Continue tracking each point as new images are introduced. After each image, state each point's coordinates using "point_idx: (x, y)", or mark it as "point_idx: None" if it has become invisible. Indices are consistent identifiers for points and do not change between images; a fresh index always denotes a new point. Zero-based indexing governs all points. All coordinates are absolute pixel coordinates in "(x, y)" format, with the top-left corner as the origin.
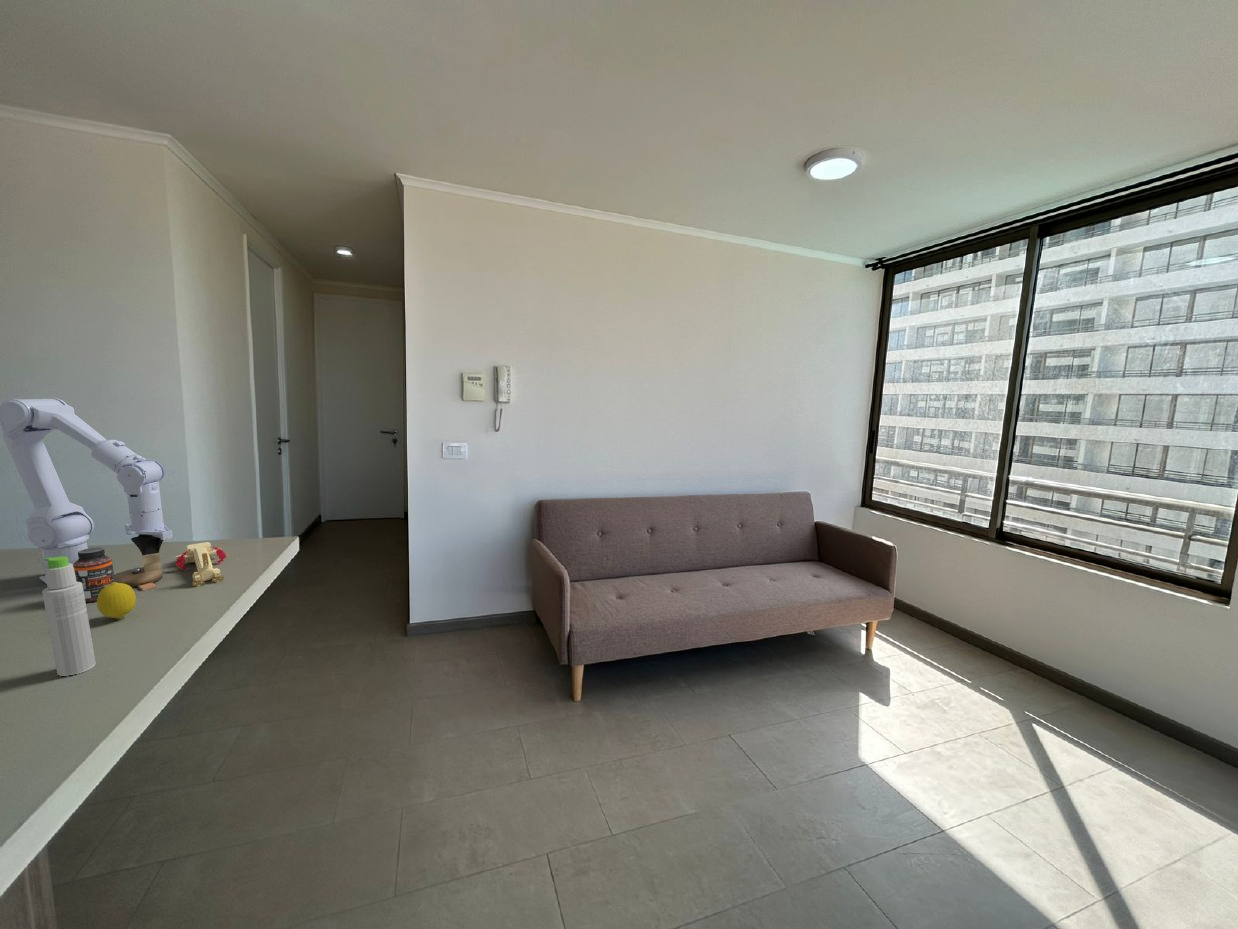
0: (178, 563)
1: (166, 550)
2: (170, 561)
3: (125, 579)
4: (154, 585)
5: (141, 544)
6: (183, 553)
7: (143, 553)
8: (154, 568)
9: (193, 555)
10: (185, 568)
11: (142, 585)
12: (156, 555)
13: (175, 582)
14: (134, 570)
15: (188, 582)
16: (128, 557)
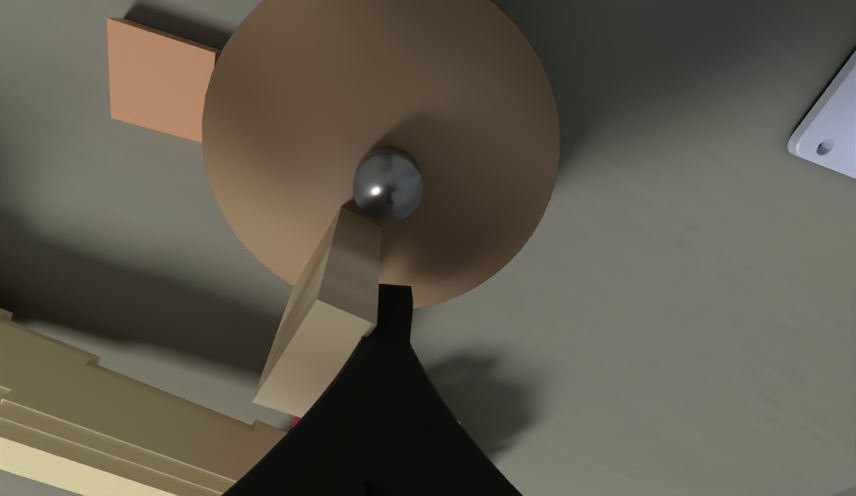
0: None
1: (714, 471)
2: (558, 408)
3: (293, 16)
4: (113, 107)
5: (240, 482)
6: None
7: (367, 352)
8: (306, 266)
9: None
10: None
11: (195, 71)
12: (267, 376)
13: (120, 219)
14: (365, 162)
15: (32, 244)
16: (834, 383)
